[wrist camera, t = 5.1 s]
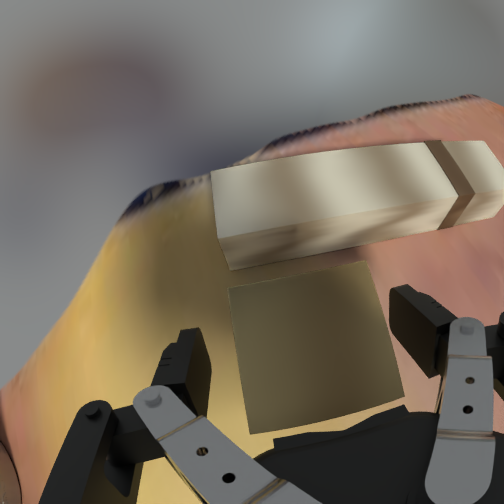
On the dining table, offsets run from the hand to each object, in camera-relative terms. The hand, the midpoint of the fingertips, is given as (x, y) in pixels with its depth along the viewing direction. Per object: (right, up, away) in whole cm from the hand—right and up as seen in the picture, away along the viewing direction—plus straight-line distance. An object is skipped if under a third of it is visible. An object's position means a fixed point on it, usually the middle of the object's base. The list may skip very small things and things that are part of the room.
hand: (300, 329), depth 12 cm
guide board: (+7, +6, +9) cm, 13 cm away
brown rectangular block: (+1, -4, +4) cm, 6 cm away
